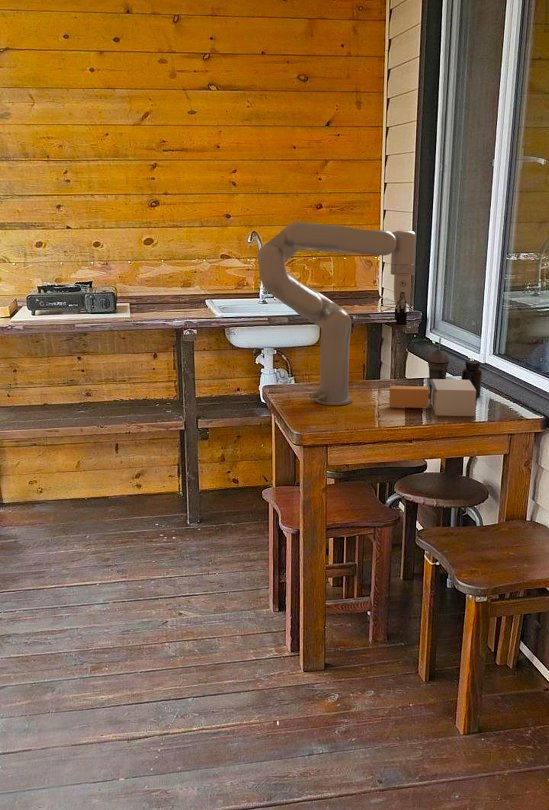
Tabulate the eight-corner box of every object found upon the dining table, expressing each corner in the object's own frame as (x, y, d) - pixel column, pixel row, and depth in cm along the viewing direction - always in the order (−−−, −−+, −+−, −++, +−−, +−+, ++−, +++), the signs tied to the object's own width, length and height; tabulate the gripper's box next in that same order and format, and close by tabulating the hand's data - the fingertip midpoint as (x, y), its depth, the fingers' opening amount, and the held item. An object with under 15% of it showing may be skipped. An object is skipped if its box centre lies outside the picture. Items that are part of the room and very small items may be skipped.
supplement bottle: (461, 398, 256) (463, 363, 253) (458, 392, 263) (461, 359, 259) (481, 398, 255) (484, 364, 252) (479, 393, 262) (481, 359, 259)
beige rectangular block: (474, 416, 235) (476, 390, 233) (432, 415, 236) (434, 389, 234) (467, 404, 248) (469, 379, 246) (428, 403, 250) (429, 379, 247)
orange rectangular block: (427, 407, 241) (428, 389, 239) (389, 406, 242) (390, 388, 240) (426, 404, 245) (427, 386, 243) (389, 403, 246) (389, 385, 244)
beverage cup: (445, 391, 265) (449, 335, 259) (448, 396, 258) (452, 339, 252) (424, 391, 265) (427, 335, 260) (426, 396, 258) (430, 338, 253)
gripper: (416, 272, 234) (413, 326, 239) (412, 267, 251) (409, 318, 256) (392, 272, 235) (389, 326, 240) (389, 267, 252) (387, 318, 256)
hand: (400, 322), depth 248 cm, fingers open, 9 cm apart
